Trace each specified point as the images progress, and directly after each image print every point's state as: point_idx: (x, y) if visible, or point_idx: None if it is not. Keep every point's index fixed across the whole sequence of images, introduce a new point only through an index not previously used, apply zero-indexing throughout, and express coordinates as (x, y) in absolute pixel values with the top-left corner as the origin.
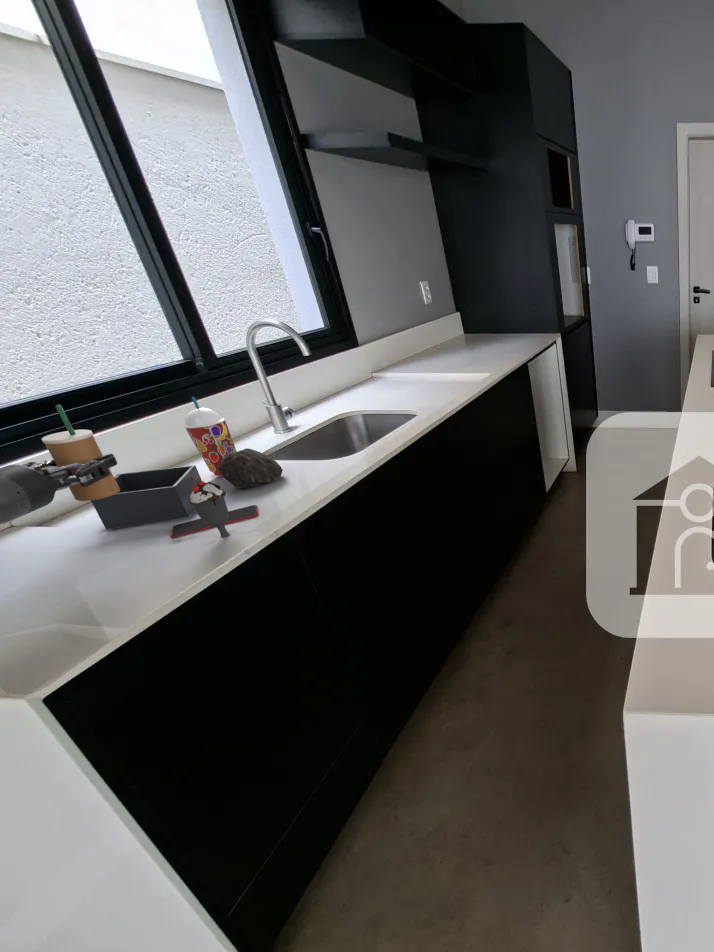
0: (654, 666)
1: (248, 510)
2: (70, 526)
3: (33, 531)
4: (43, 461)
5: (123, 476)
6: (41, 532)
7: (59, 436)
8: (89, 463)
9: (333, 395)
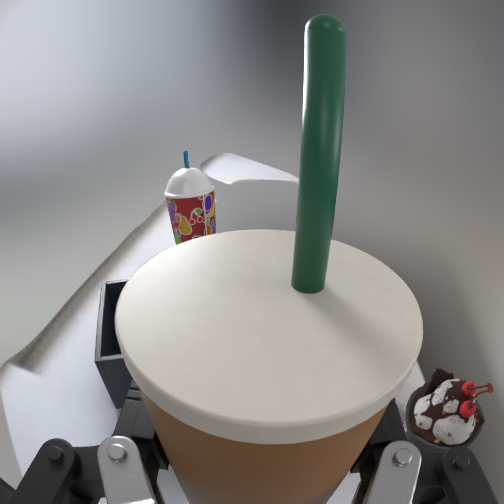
0: None
1: None
2: (57, 379)
3: (19, 381)
4: (112, 457)
5: (109, 287)
6: (28, 388)
7: (243, 315)
8: (413, 482)
9: (202, 165)
